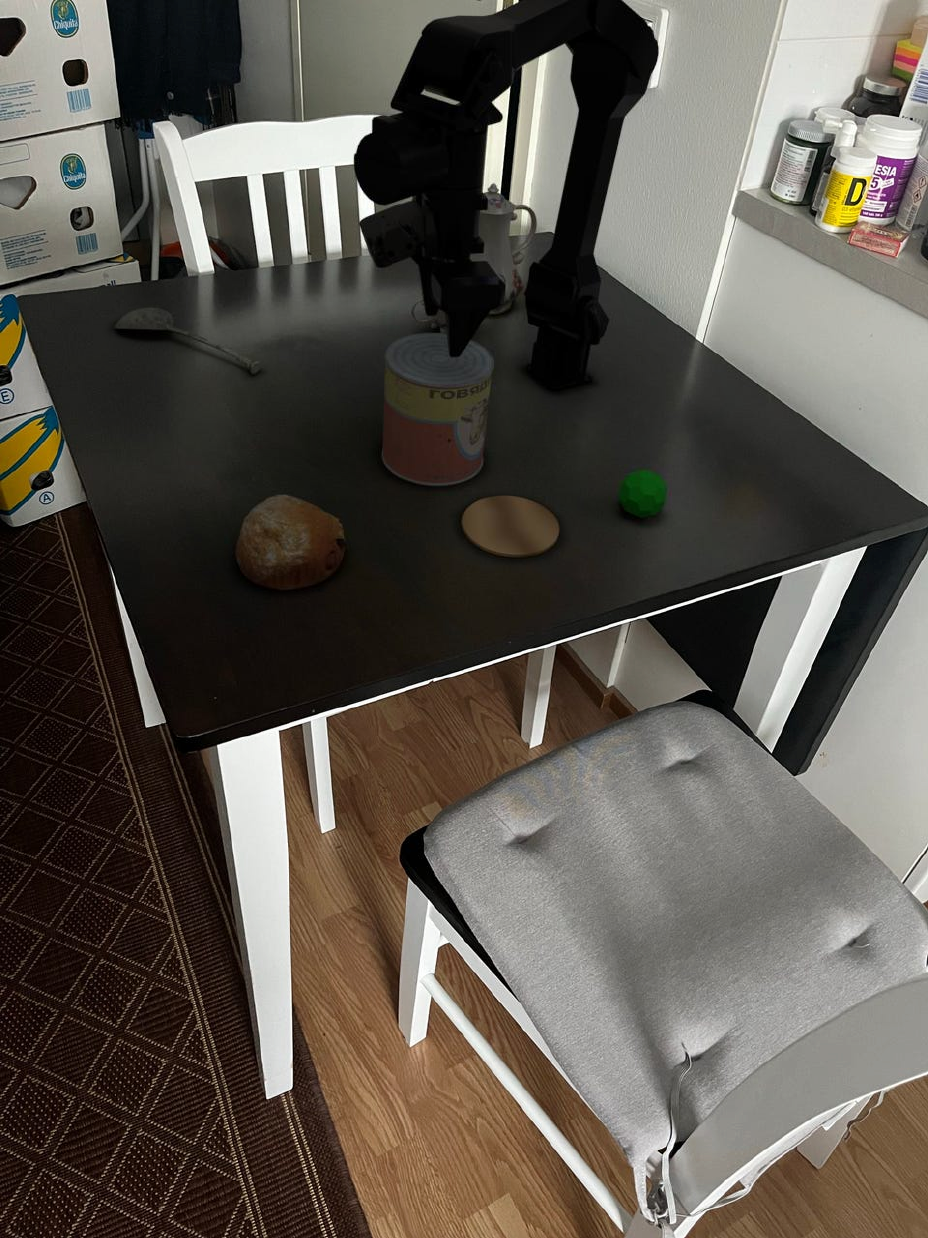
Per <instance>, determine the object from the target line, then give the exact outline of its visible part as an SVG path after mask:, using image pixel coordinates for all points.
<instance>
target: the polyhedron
mask: <svg viewBox="0 0 928 1238" xmlns="http://www.w3.org/2000/svg"><path fill="white" fill-rule="evenodd" d="M667 491H668V489H667V484H666V482H665V481H664V478H663V477H662V476H661V475H659V474H657V473H656V472H653V471H650V470H648V469H639V470H636V471H633V472H631V473H628V474H627V475H626V476H625V477H624V479H622V481H621V482H620V485H619V492H618V493H619V494H618V499H619V504H620V505H621V507H622V509H623V511H625V512H627V513H629V514H631V515H634V516H635V517H638V518H641V519H644V518H648V517H651V516H652V517H653V516H654V515H656V514H658V513H659V512H660V511H661V510H662V509H663V508H664V506H665V505H666V500H667V494H668V493H667Z"/></svg>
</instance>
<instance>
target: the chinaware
mask: <svg viewBox="0 0 928 1238" xmlns="http://www.w3.org/2000/svg"><path fill="white" fill-rule="evenodd" d="M499 191H500V189H499V188H498V186H497V184H496V183H494V182H493V183H491V184H490V186H489V187H488V188H487V191H485V192H483V193H484V194H485V195H486V197H487V198H488V210H481V213H480V225H479V236H480V238H481V239H482V240H483V242H484V253H479V254H471V255H470V259H471V260H472V261H487V262H488V263H489V264H490V265H491V266H492V267H493V268H494V269H495V270H496V272H497V273H498V275H499V276H500V277H501V279H502V280H503V281H504V283H505V284H506V290H505V299H504V304H503V305H502V306H500V307H497V308H496V309H493V310H491V311H490V312H489V314H488V315H487V316H495V315H500V314H501V315H502V314H503V313H506V312H508V311H509V310H511V308H512V305H513V301H514V300H515V299H516V298H517V297H518V296H519V295H520V294H521V293H522V292H523V289H524V283H523V280H522V278H521V276H520V274H519V272H518V270H517V267H516V266H517V265H519V264H522V262H523V261H524V259H525V254H524V253H523V252H522V251H523V250H525V249H526V248H527V247H528V246H529V245H530V244H531V243H532V241H533V239H534V237H535V235H536V231H537V226H538V221H537V216H536V213H535V211H534V210H533V209H532V208H531V207H529V206H528V205H526V204H514V203H513V202H512V201H510V200H507V199H505V196H504V195H502V193H500V192H499ZM516 210H522V211H523V210H524V211H526V212H527V213H528V214H529V216H530V228H529V232H528V234H527V237H526V238H525V240H524V241H523V242H522V243H521V244H520V245H519V246H518V247H516V248H515V249H511V244H510V242H511V241H510V232H511V231H510V230H511V222H514V221H516V220H517V219H518V214H517V213H516V212H515V211H516ZM420 302H421V305H422V306H424V302H423V298H420V299H417V300H416V301H414V303H413V304H412V306H411V316H412V318H413V319H414V321H416V322H418V323H422V324H423V323H427V322H432V323H431V324H430V328H431V329H436V328H437V327H439V330H440V332H439V333H443V334H447V332H446V321H445V313H444V312H443V311H441V310H440V309H439V310H438V312H437V314H436V315H435V316H430V318H427V319H418V318H417V317H416V315H415V313H414V311H415V308H416V306H417V305H418V304H419V303H420Z"/></svg>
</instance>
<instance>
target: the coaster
mask: <svg viewBox="0 0 928 1238" xmlns="http://www.w3.org/2000/svg"><path fill="white" fill-rule="evenodd" d="M461 528H462V529H461V530H462V532H463V534H464V535H465V537H466V538H467V539H468V540H469V541H470V542H471V543H472V544H473V545H474V546H476V547H477V548H479V549H480V550H483V551H485V552H486V553H490V554H492V555H496V556H498V557H499V556H500V557H505V558H517V559H518V558H529V557H534V556H537V555H540V554H543V553H545V552H546V551H549V549H551V548H552V547H553V546H554V545H555V544H556V542H557V541H558V539H559V533H560V525H559V522H558V520H557V518H556V517H555V515H554V514H553V513H552V512H551V511H550V510H549V509H548V508H547V507H545V506H543V505H542V504H540V503H538V502H536V501H534V500H531V499H528V498H524V497H520V496H514V495H494V496H493V495H492V496H487V497H484V498H481V499H478V500H476V501H475V502H473V503H471V504H470V505H469V506H468V507H467V508H466V509H465V510H464V512H463V514H462V518H461Z"/></svg>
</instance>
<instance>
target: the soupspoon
mask: <svg viewBox="0 0 928 1238" xmlns="http://www.w3.org/2000/svg"><path fill="white" fill-rule="evenodd" d="M174 321H175V320H174V317H173V315H172V313H170V312H169V311H167V310H164V309H163V308H162V309H161V308H158V307H142V308H138V309H135V310H132V311H130V312H127V313H126V314H125V315H123V316H122V317H121V318H120V319H119V320H118V321H117V322H116V323H115V326H114V329H115V330H116V329H117V330H154V331H155V330H156V331H167V332H171V333H175V334H177V335H181V336H184V337H187V338H190V339H192V340H194V341H197V342H200V343H202V344H204V345H206V346H209V347H212V348H214V349H216V350H219V351H220V352H223V353H225V354H227V355H229V356H231V357H233V358H235V360H236V362H237V361H240V362H241V364H242V365H244V366H245V367H247V369H248V370H249V371H250V374H251V375H255V374H257V373H259V371H260V370H261V368H262V363H261V362H260V361H258V360H257V361H254V360H251V359H250V358H248V357H246V356H243V354H242V353H237V352H235V351H234V350H232V349H229V348H227V347H225V346H223V345H221V344H219V343H217V342H214V341H212V340H209V339H207V338H205V337H203V336H200V335H198V334H195V333H193V332H191V331H188V330H185V329H182V328H179V327H176V326H174Z"/></svg>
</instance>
